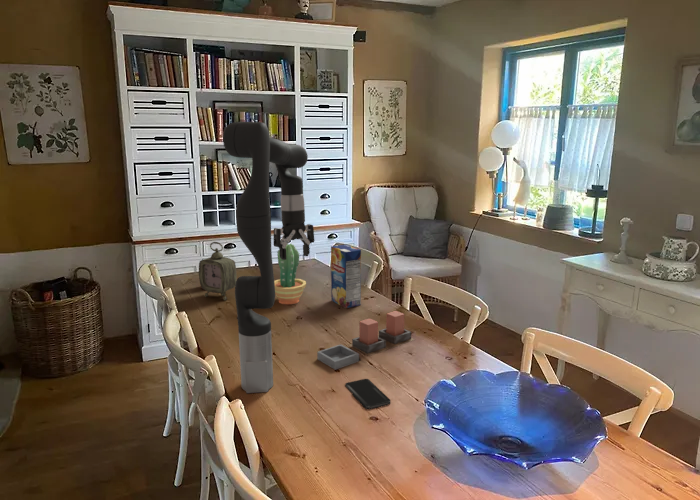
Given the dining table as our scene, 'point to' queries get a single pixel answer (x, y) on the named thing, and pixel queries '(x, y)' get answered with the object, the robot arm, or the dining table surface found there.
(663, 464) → the dining table surface
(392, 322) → the block
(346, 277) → the juice carton
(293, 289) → the potted cactus
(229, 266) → the tabletop clock
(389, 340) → the dark grey double holder
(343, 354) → the box
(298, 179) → the robot arm
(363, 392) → the phone
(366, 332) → the block
